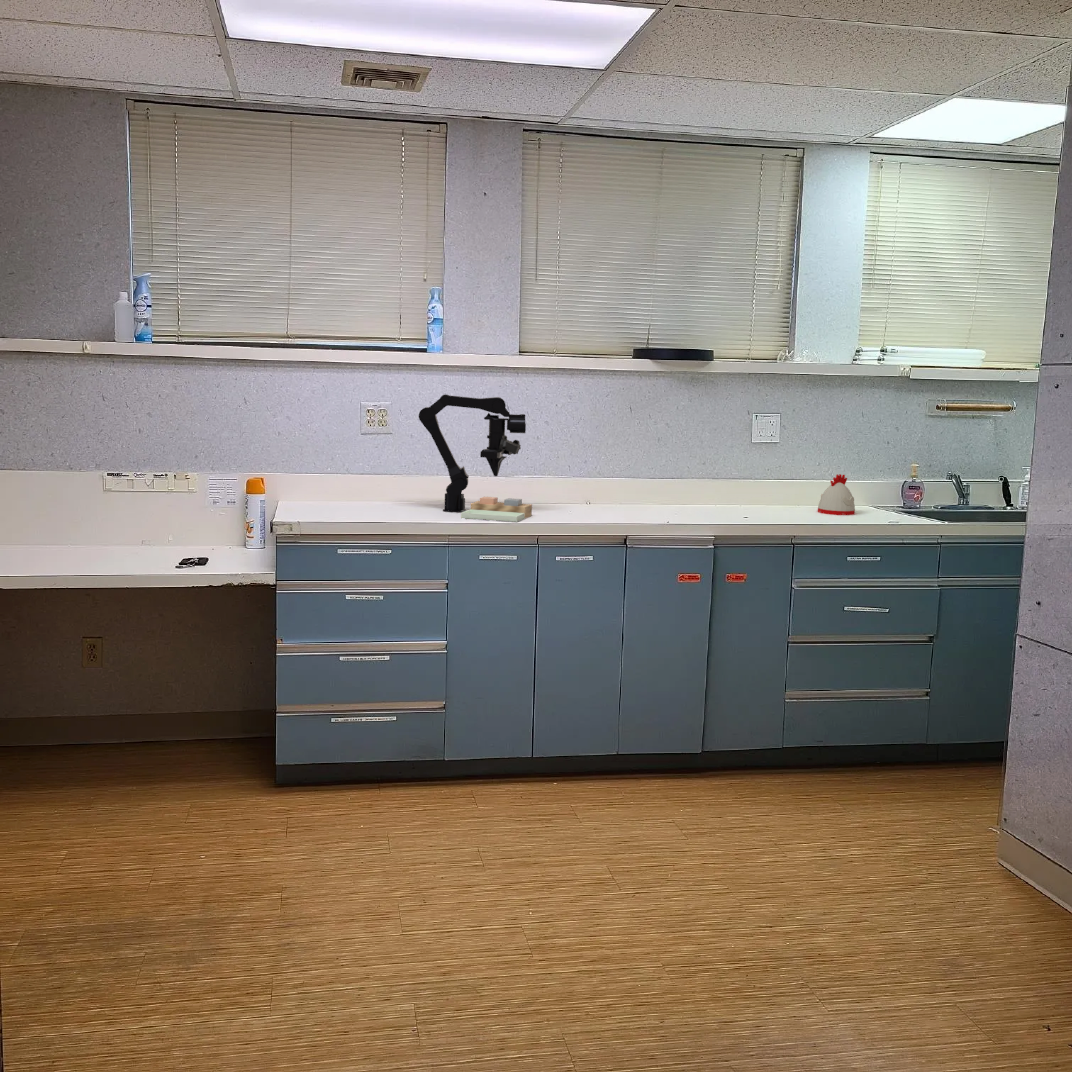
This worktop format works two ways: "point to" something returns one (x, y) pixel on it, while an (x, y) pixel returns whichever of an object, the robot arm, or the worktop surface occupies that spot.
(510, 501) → the slate tile
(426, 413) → the robot arm
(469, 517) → the tray
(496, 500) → the terracotta tile
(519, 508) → the oak board
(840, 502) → the kitchen timer
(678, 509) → the worktop surface
